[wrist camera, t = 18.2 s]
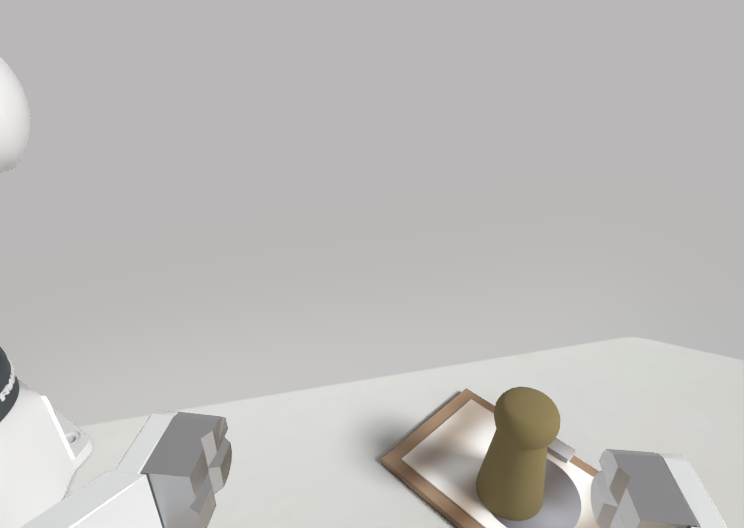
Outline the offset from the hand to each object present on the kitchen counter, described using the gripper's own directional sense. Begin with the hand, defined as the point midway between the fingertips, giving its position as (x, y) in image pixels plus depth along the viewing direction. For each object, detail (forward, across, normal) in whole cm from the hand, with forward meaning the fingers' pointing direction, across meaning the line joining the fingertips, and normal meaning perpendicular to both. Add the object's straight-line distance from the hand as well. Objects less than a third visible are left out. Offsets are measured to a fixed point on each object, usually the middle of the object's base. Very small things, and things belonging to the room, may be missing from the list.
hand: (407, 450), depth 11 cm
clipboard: (+24, -10, +32) cm, 41 cm away
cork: (+23, -10, +31) cm, 40 cm away
